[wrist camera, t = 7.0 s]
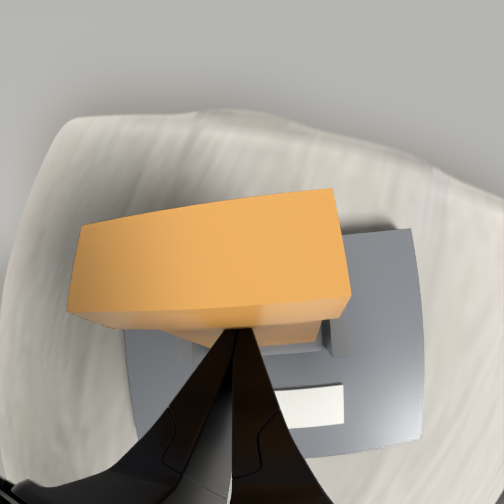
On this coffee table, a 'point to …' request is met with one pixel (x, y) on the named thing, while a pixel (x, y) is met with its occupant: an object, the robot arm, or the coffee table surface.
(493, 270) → the coffee table surface
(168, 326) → the breaker lever
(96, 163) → the coffee table surface
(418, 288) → the box
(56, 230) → the coffee table surface
